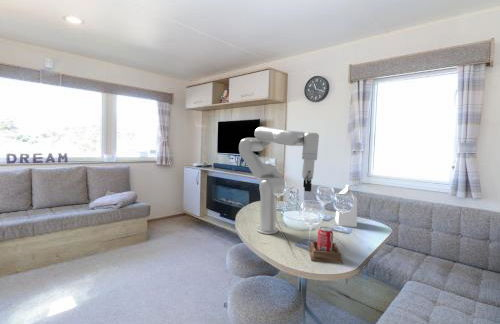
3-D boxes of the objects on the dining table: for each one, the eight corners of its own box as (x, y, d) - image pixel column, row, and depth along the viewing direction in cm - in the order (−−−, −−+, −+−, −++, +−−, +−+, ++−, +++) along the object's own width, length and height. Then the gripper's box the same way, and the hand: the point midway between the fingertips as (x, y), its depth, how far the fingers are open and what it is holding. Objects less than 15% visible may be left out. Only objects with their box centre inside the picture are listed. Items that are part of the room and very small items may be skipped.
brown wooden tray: (308, 248, 132) (308, 240, 132) (336, 250, 131) (337, 242, 130) (311, 260, 118) (311, 252, 118) (343, 263, 117) (343, 254, 116)
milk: (356, 226, 168) (359, 187, 165) (338, 225, 170) (340, 186, 167) (352, 221, 180) (354, 184, 177) (335, 219, 181) (337, 183, 179)
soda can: (329, 250, 128) (330, 226, 127) (334, 256, 121) (335, 231, 120) (314, 249, 128) (316, 226, 127) (319, 256, 121) (320, 231, 120)
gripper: (301, 154, 143) (298, 185, 145) (303, 157, 126) (300, 192, 128) (315, 155, 142) (312, 186, 144) (319, 158, 125) (316, 193, 127)
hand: (306, 189), depth 136 cm, fingers open, 9 cm apart
